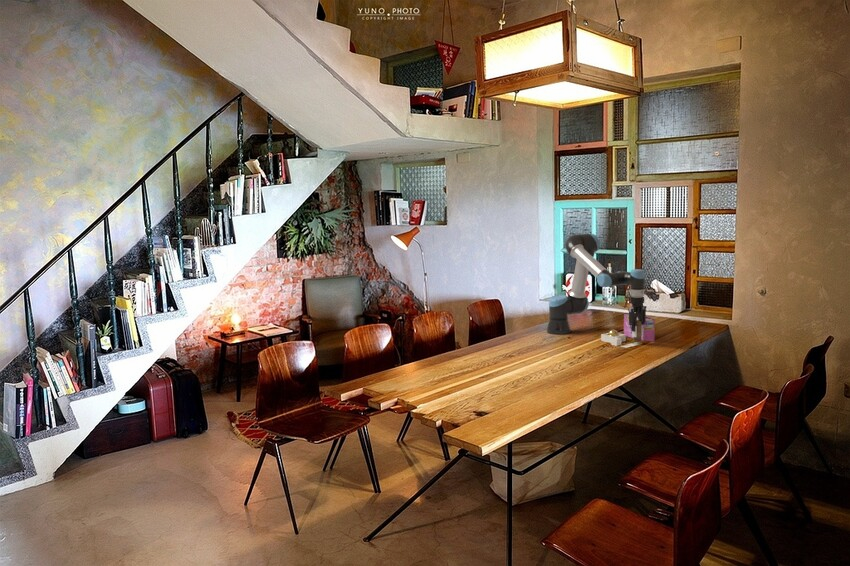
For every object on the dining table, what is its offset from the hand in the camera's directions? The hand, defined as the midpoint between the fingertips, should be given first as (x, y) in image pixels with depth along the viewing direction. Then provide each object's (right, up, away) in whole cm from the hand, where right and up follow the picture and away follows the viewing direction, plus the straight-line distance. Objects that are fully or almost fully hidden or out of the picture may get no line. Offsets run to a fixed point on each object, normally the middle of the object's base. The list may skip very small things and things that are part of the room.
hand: (637, 336), depth 377 cm
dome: (-11, -3, +9) cm, 15 cm away
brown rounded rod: (0, -3, 0) cm, 3 cm away
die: (-12, -5, 0) cm, 13 cm away
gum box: (+7, -3, +20) cm, 22 cm away
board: (-8, -6, +5) cm, 11 cm away
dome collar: (-11, -4, +9) cm, 15 cm away
